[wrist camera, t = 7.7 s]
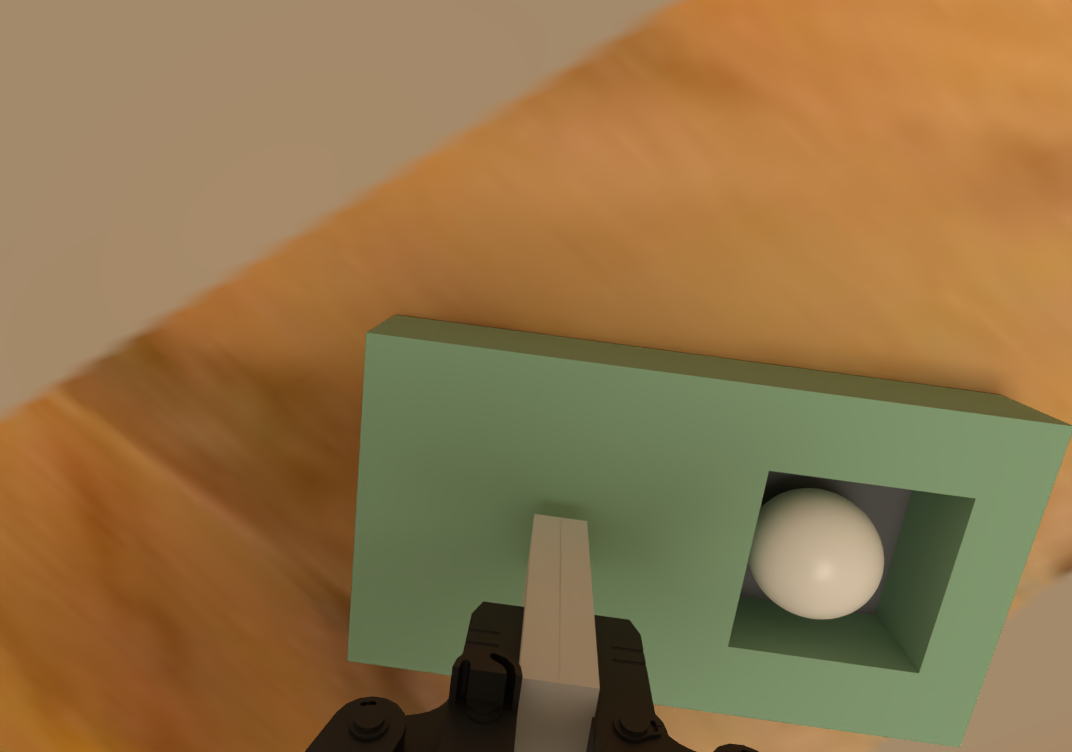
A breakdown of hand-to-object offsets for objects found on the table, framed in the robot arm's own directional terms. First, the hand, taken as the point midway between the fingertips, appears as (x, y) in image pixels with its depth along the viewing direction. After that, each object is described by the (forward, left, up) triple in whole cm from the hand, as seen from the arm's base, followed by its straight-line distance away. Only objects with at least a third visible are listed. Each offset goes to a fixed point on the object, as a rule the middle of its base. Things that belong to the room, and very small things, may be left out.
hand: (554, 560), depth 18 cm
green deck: (+4, 0, -5) cm, 6 cm away
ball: (+8, 0, -2) cm, 9 cm away
